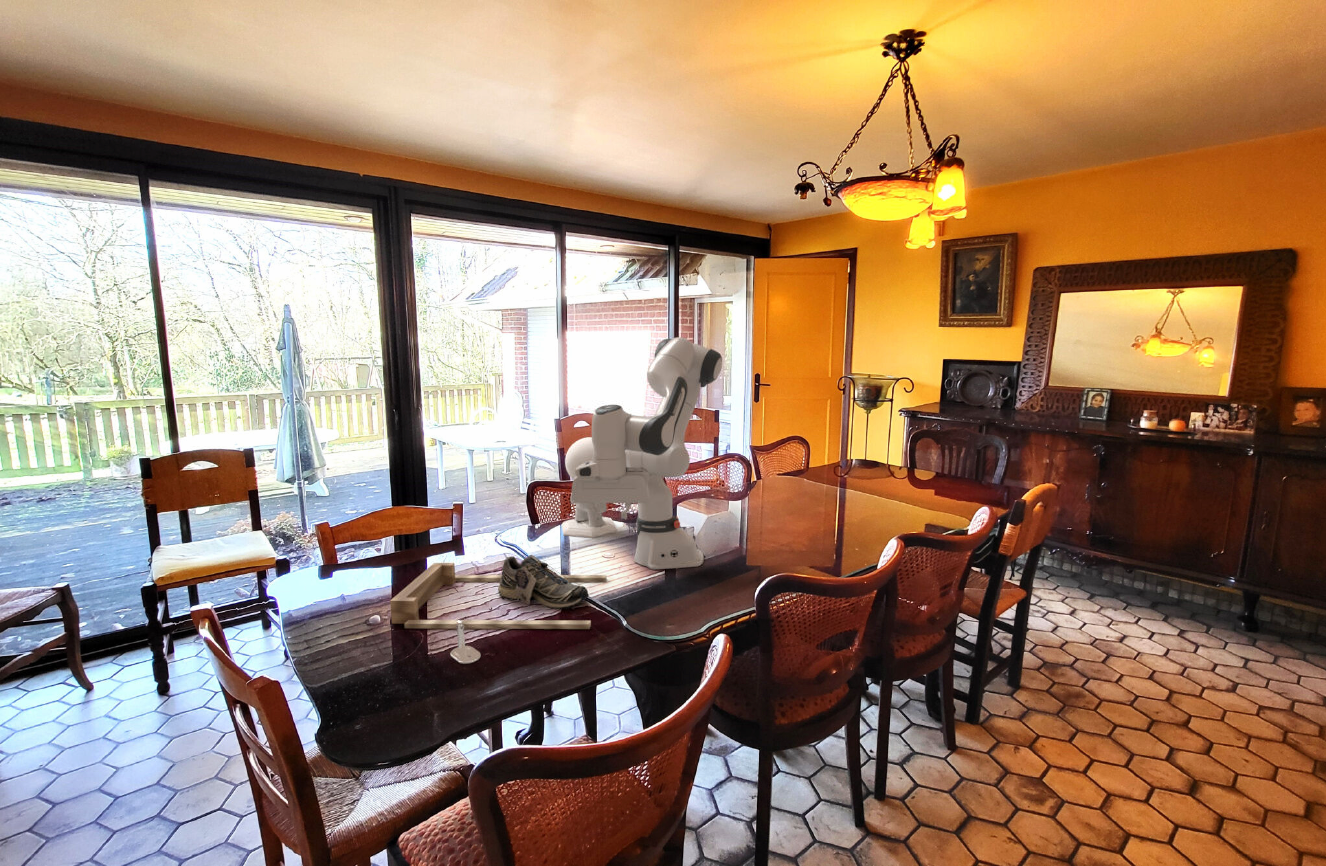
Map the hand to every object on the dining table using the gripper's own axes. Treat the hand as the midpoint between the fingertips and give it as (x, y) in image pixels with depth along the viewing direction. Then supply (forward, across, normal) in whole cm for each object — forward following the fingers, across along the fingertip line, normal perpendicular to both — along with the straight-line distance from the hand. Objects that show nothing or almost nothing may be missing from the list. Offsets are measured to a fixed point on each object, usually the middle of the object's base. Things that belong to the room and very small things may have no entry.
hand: (611, 518), depth 153 cm
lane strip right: (+23, +27, -14) cm, 38 cm away
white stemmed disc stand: (+24, +30, +28) cm, 47 cm away
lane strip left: (+23, +27, +15) cm, 38 cm away
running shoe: (+24, +20, -1) cm, 31 cm away
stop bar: (+23, +51, 0) cm, 56 cm away
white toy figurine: (+23, +17, -64) cm, 71 cm away
